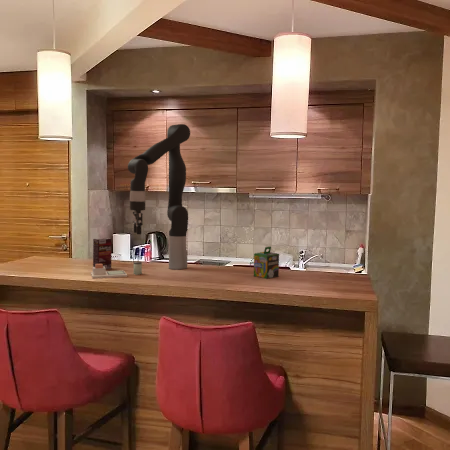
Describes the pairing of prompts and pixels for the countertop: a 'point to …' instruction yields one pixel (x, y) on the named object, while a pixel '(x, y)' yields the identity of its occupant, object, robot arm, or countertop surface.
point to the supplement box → (102, 252)
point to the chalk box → (266, 264)
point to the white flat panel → (110, 274)
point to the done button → (98, 265)
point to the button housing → (99, 271)
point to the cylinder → (137, 267)
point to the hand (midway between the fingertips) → (137, 233)
